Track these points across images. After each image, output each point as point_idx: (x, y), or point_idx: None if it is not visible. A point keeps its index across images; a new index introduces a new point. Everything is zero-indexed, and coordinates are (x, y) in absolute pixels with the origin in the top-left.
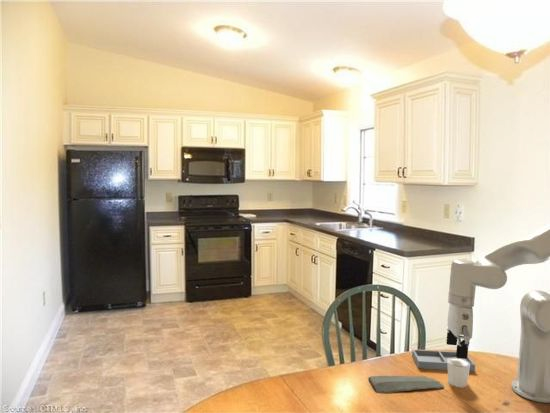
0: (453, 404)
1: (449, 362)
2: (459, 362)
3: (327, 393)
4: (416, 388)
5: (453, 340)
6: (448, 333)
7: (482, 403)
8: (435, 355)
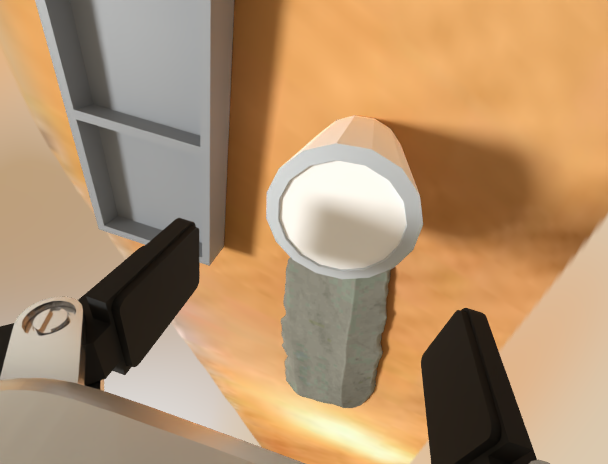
0: (515, 284)
1: (336, 274)
2: (342, 216)
3: (347, 453)
4: (379, 337)
5: (175, 278)
6: (127, 364)
7: (586, 163)
8: (101, 128)
